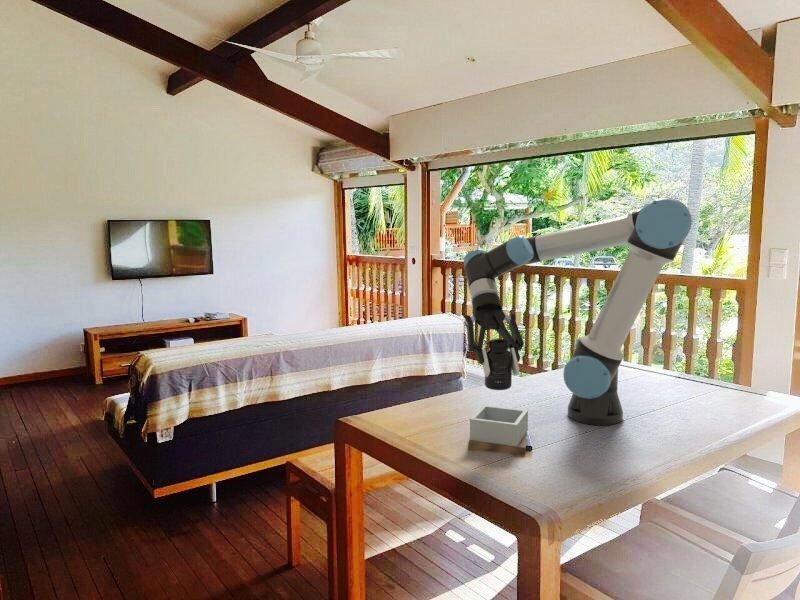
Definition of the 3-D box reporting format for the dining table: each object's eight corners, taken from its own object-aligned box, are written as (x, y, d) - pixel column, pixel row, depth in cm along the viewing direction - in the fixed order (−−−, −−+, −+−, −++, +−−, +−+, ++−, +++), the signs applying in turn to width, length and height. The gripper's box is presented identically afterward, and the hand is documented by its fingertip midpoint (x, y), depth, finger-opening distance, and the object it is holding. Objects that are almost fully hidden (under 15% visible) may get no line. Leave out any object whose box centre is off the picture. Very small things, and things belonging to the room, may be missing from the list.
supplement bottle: (484, 382, 156) (485, 337, 154) (510, 383, 155) (511, 338, 153) (484, 390, 149) (485, 343, 147) (512, 391, 148) (513, 344, 146)
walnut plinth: (526, 436, 159) (526, 427, 159) (525, 457, 146) (525, 447, 145) (474, 432, 162) (474, 424, 162) (468, 452, 149) (468, 443, 149)
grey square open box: (527, 430, 157) (527, 410, 156) (516, 446, 146) (517, 424, 145) (483, 424, 161) (483, 405, 161) (469, 440, 151) (469, 419, 150)
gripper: (517, 306, 166) (536, 379, 152) (447, 308, 163) (460, 382, 150) (523, 290, 160) (544, 364, 146) (451, 291, 157) (466, 367, 144)
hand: (502, 373), depth 148 cm, fingers closed on supplement bottle, 7 cm apart
